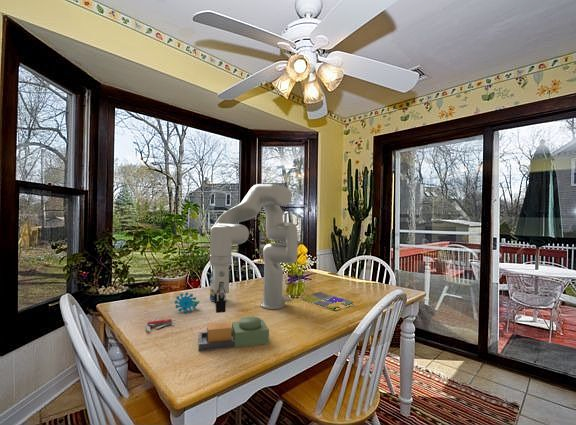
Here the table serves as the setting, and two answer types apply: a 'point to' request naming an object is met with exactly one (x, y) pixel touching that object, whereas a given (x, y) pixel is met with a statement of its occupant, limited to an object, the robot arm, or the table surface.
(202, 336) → the dark gray rectangular tray
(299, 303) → the table surface
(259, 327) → the green domed block
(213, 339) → the light orange rectangular block
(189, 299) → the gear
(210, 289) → the beverage bottle
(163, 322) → the swiss army knife
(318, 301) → the dish towel
